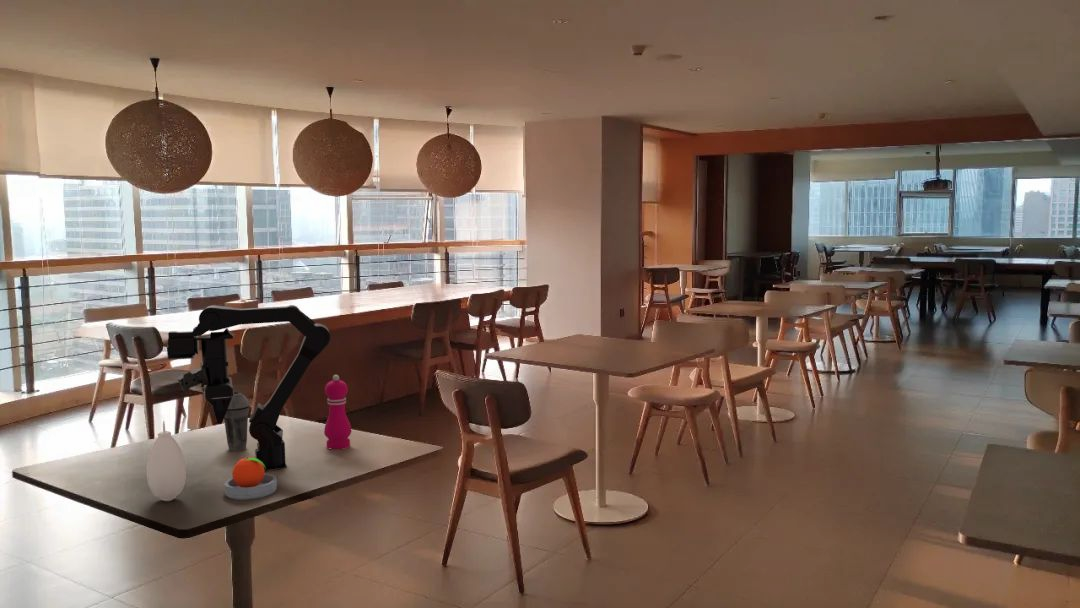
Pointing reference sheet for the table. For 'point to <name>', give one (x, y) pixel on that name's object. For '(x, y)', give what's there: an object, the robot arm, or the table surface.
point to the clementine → (248, 472)
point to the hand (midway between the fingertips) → (217, 420)
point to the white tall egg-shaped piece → (166, 467)
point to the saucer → (251, 489)
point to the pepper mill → (337, 415)
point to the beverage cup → (237, 421)
